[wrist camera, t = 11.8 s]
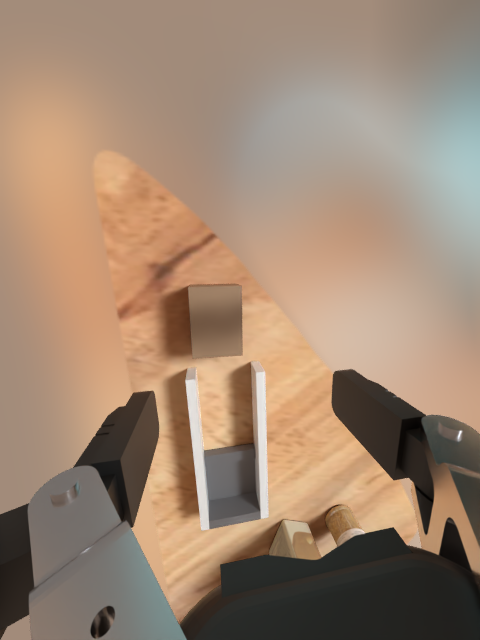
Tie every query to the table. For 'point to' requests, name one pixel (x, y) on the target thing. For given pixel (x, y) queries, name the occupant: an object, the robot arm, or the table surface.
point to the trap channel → (231, 463)
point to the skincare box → (294, 541)
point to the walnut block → (215, 320)
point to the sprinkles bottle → (342, 524)
